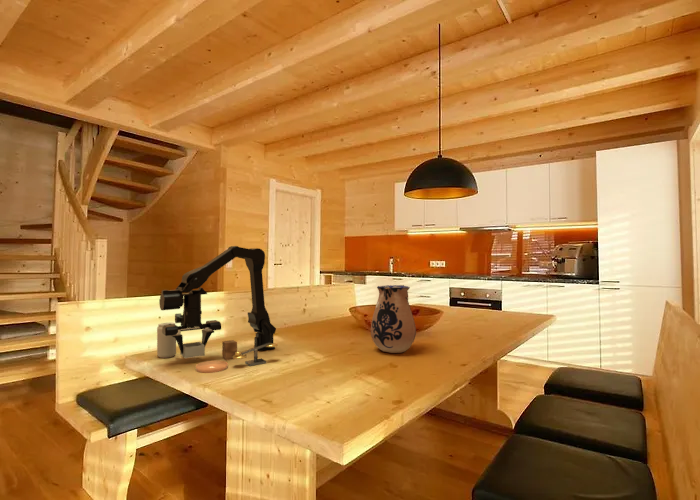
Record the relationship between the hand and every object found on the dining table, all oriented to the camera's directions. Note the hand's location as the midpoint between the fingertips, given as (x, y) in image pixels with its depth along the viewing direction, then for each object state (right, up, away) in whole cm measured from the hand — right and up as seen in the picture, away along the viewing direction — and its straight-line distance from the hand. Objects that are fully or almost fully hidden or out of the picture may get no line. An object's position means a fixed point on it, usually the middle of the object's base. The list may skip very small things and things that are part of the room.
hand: (192, 352), depth 142 cm
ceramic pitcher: (+73, -3, +16) cm, 75 cm away
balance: (+23, -3, -3) cm, 23 cm away
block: (+12, -3, +4) cm, 13 cm away
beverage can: (-12, -3, +6) cm, 14 cm away
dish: (+10, -3, -9) cm, 14 cm away
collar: (0, -1, 0) cm, 1 cm away
